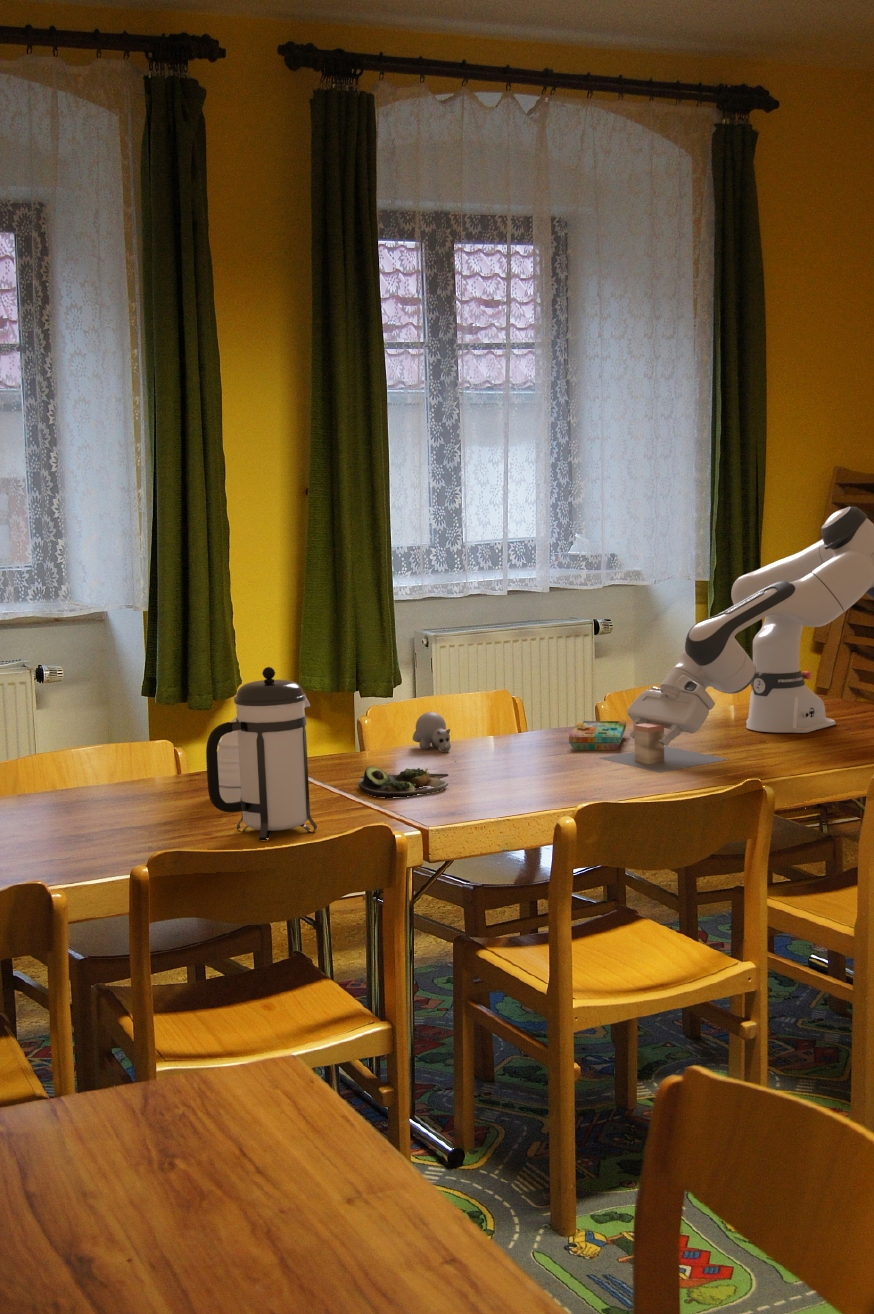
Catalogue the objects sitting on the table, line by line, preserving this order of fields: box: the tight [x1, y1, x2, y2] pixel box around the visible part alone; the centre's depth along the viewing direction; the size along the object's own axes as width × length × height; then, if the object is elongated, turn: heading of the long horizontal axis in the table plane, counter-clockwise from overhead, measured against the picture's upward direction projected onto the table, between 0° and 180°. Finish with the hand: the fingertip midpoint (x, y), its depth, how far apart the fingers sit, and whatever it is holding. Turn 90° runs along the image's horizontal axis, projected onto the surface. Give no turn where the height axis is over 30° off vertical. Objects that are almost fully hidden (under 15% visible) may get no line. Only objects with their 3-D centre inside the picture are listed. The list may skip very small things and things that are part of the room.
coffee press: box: [205, 666, 318, 841], centre depth 231 cm, size 17×16×30 cm
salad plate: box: [357, 766, 449, 799], centre depth 266 cm, size 19×18×5 cm
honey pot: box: [217, 715, 241, 803], centre depth 261 cm, size 13×13×18 cm
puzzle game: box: [568, 720, 627, 752], centre depth 305 cm, size 12×5×20 cm
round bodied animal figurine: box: [412, 711, 452, 753], centre depth 304 cm, size 7×12×8 cm, turn 30°
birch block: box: [633, 723, 665, 764], centre depth 281 cm, size 4×4×8 cm
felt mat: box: [599, 745, 730, 773], centre depth 284 cm, size 20×20×1 cm
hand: (647, 740), depth 281 cm, fingers open, 8 cm apart
